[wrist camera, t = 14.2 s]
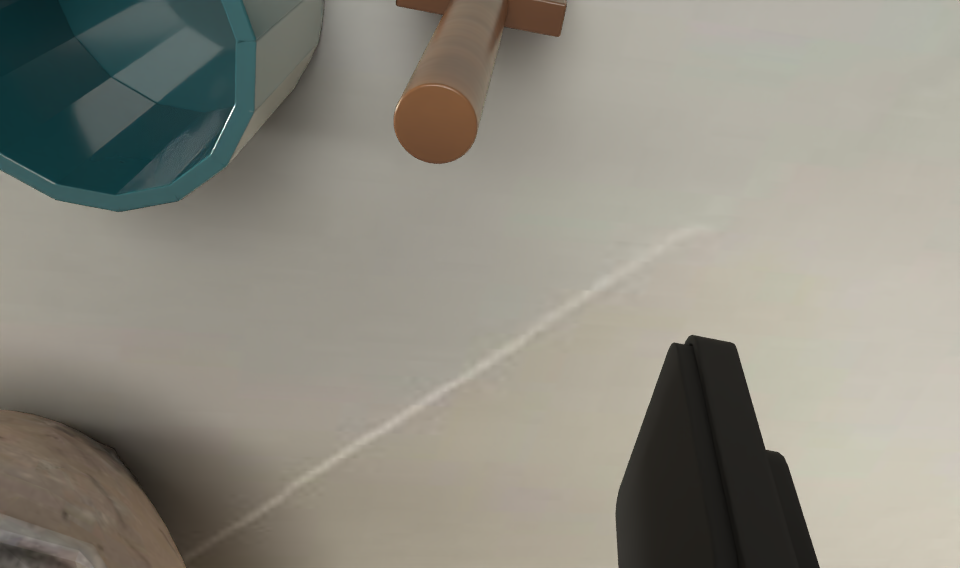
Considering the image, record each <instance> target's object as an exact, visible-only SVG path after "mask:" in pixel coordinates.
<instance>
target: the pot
mask: <svg viewBox="0 0 960 568" xmlns="http://www.w3.org/2000/svg"><path fill="white" fill-rule="evenodd" d="M323 13H324V0H0V170H1V171H3V172H5V173H7V174H9V175H10V176H12V177H14V178H16V179H18V180H20V181H21V182H23V183H25V184H27V185H29V186H31V187H33V188H34V189H36V190H38V191H40V192H42V193H44V194H45V195H47V196H49V197H51V198H53V199H55V200H58V201H63V202H69V203H74V204H79V205H85V206H90V207H95V208H100V209H106V210H111V211H116V212H123V211H128V210H133V209H139V208H144V207H150V206H155V205H161V204H166V203H171V202H177V201H179V200H182V199H183V198H185V197H186V196H187V195H189V194H190V193H191V192H193V191H194V190H196V189H197V188H198V187H200V186H201V185H203V184H204V183H205V182H207V181H208V180H209V179H211V178H212V177H214V176H215V175H216V174H218V173H219V172H221V171H222V170H223V169H225V168H226V167H227V166H228V165H229V163H230V162H231V161H232V160H233V159H234V158H235V156H236V155H237V154H238V153H239V152H240V151H241V149H242V148H243V147H244V146H245V145H246V144H247V143H248V141H249V140H250V139H251V138H252V137H253V136H254V134H255V133H256V132H257V131H258V130H259V129H260V127H261V126H262V125H263V124H264V123H265V122H266V120H267V119H268V118H269V117H270V116H271V115H272V113H273V112H274V111H275V110H276V109H277V108H278V106H279V105H280V104H281V103H282V102H283V101H284V99H285V98H286V97H287V96H288V95H289V94H290V93H291V91H292V90H293V89H294V88H295V87H296V85H297V83H298V81H299V79H300V77H301V75H302V73H303V72H304V70H305V69H306V67H307V65H308V64H309V62H310V60H311V58H312V55H313V53H314V51H315V48H316V46H317V45H318V42H319V35H320V32H321V27H322V20H323Z"/></svg>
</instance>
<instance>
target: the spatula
mask: <svg viewBox="0 0 960 568" xmlns="http://www.w3.org/2000/svg"><path fill="white" fill-rule="evenodd" d="M396 5H397V6H399V7H404V8H409V9H414V10H420V11H425V12H430V13H435V14H440V15H443V16H442V18H441V20H440V22H439V24H438V26H437V28H436V30H435V32H434V34H433V36H432V38H431V40H430V42H429V44H428V46H427V47H426V49H425V51H424V53H423V55H422V57H421V59H420V61H419V63H418V65H417V67H416V69H415V71H414V73H413V75H412V77H411V79H410V81H409V83H408V84H407V86H406V88H405V90H404V92H403V94H402V96H401V98H400V100H399V102H398V104H397V106H396V109H395V112H394V129H395V133H396V136H397V138H398V140H399V142H400V143H401V145H402V146H403V147H404V148H405V150H406V151H407V152H409V153H410V154H411V155H412V156H414V157H415V158H417V159H419V160H422V161H424V162H428V163H434V164H442V163H448V162H452V161H454V160H456V159H458V158H460V157H462V156H463V155H464V154H465V153H466V152H467V151H468V150H469V149H470V148H471V147H472V145H473V143H474V141H475V139H476V135H477V131H478V127H479V123H480V120H481V116H482V112H483V108H484V104H485V100H486V96H487V92H488V88H489V84H490V80H491V76H492V72H493V68H494V64H495V60H496V56H497V52H498V48H499V45H500V41H501V37H502V33H503V29H504V27H508V28H513V29H518V30H523V31H529V32H534V33H539V34H544V35H549V36H555V37H559V36H560V35H561V30H562V25H563V21H564V16H565V11H566V7H567V0H396Z"/></svg>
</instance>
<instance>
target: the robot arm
mask: <svg viewBox="0 0 960 568" xmlns="http://www.w3.org/2000/svg"><path fill="white" fill-rule="evenodd" d="M616 531H617V548H618V565H619V568H820V567H819V564H818V561H817V557H816V554H815V551H814V548H813V545H812V541H811V538H810V535H809V532H808V529H807V525H806V522H805V519H804V516H803V512H802V509H801V506H800V503H799V500H798V496H797V493H796V490H795V487H794V484H793V480H792V477H791V474H790V471H789V467H788V465H787V463H786V460H785V458H784V456H782V455H781V454H780V453H779V452H774V451H769V450H765V446H764V443H763V439H762V436H761V432H760V429H759V425H758V422H757V418H756V415H755V411H754V408H753V404H752V401H751V397H750V394H749V390H748V387H747V383H746V379H745V376H744V372H743V369H742V365H741V362H740V358H739V355H738V351H737V348H736V346H735V344H733V343H731V342H726V341H721V340H716V339H710V338H705V337H700V336H695V335H691V336H689V337H688V339H687V340H686V342H685V344H679V343H672V345H671V346H670V348H669V350H668V353H667V355H666V358H665V361H664V364H663V367H662V370H661V372H660V375H659V378H658V381H657V384H656V386H655V389H654V392H653V395H652V398H651V401H650V403H649V406H648V409H647V412H646V415H645V418H644V420H643V423H642V426H641V429H640V432H639V435H638V437H637V440H636V443H635V446H634V449H633V452H632V454H631V457H630V460H629V463H628V466H627V468H626V471H625V474H624V477H623V480H622V483H621V485H620V489H619V492H618V497H617V503H616Z"/></svg>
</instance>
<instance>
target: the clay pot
mask: <svg viewBox="0 0 960 568" xmlns="http://www.w3.org/2000/svg"><path fill="white" fill-rule="evenodd" d="M0 568H186V566H185V564H184V562H183V559H182V557H181V555H180V553H179V551H178V549H177V547H176V545H175V543H174V541H173V539H172V537H171V535H170V533H169V531H168V529H167V527H166V525H165V524H164V522H163V521H162V519H161V518H160V516H159V514H158V513H157V511H156V509H155V507H154V506H153V504H152V503H151V501H150V500H149V499H148V497H147V496H146V494H145V493H144V491H143V490H142V489H141V487H140V484H139V482H138V480H137V478H136V477H135V476H134V475H133V474H132V473H131V472H130V471H129V470H128V469H127V467H126V466H125V465H124V464H123V463H122V462H121V460H120V458H119V457H118V455H117V453H116V452H115V450H114V449H113V448H110V447H108V446H106V445H103V444H101V443H98V442H96V441H94V440H93V439H91V438H90V437H88V436H86V435H85V434H83V433H82V432H80V431H78V430H76V429H73V428H71V427H69V426H67V425H64V424H62V423H60V422H57V421H54V420H50V419H47V418H44V417H41V416H38V415H34V414H29V413H24V412H19V411H10V410H0Z"/></svg>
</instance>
